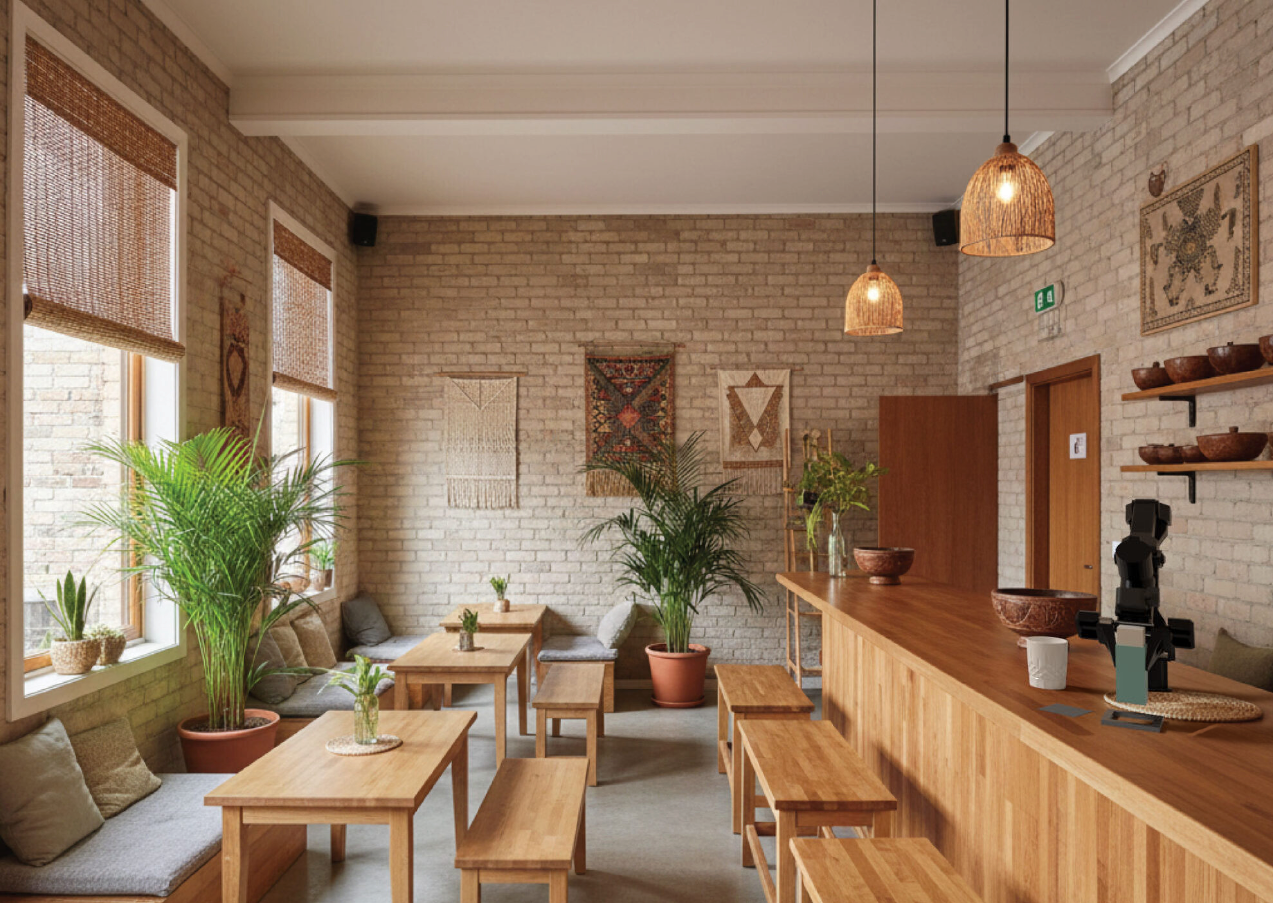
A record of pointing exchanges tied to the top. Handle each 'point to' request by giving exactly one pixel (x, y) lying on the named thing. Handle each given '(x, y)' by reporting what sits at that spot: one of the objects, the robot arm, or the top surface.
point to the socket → (1131, 725)
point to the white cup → (1047, 662)
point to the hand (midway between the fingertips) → (1130, 667)
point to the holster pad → (1065, 710)
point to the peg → (1131, 665)
